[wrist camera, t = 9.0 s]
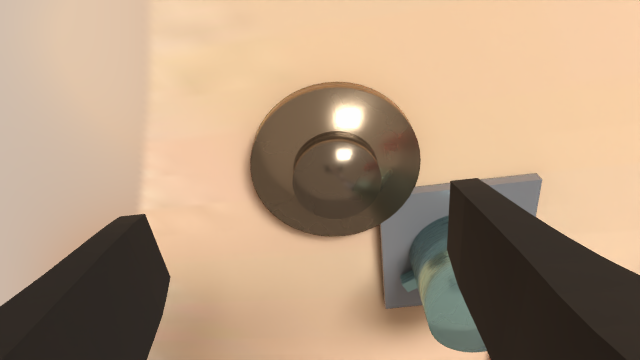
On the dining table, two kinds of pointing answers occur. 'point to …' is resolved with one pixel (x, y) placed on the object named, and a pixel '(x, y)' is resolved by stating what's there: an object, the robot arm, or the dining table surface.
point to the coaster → (424, 210)
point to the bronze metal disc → (335, 159)
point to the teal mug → (440, 290)
